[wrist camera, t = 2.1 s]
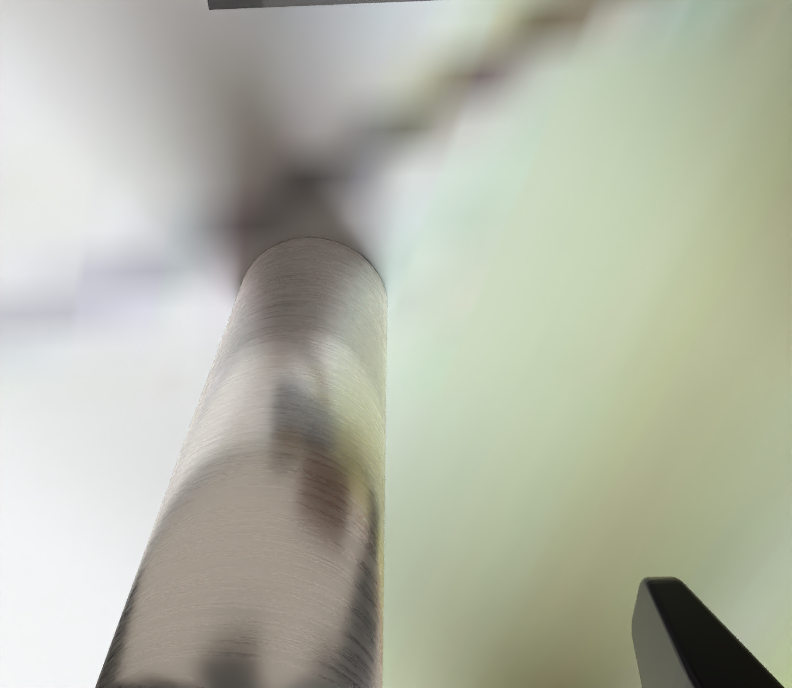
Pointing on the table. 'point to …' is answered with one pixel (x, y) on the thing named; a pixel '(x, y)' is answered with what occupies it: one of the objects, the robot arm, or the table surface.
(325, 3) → the bay
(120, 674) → the handle peg
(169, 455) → the table surface
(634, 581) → the table surface
